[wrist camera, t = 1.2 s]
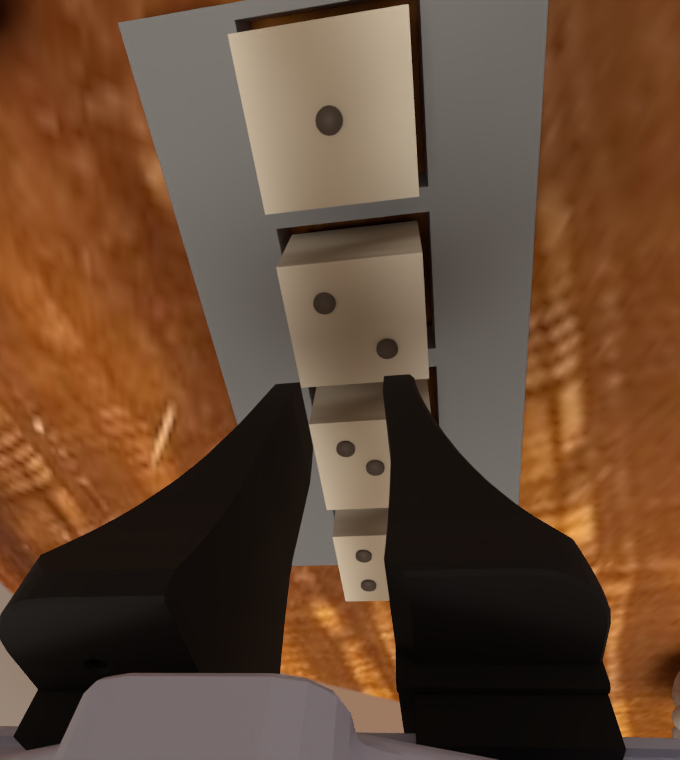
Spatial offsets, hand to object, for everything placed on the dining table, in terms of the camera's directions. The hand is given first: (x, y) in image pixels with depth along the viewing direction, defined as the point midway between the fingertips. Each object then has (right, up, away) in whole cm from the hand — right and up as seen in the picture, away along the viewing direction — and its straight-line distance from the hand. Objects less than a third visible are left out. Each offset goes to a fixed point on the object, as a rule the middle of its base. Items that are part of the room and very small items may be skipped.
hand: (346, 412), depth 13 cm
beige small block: (+1, -1, +10) cm, 10 cm away
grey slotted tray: (+1, +3, +9) cm, 10 cm away
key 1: (0, +9, +3) cm, 10 cm away
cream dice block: (+1, +4, +7) cm, 8 cm away
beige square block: (+2, -6, +13) cm, 14 cm away
